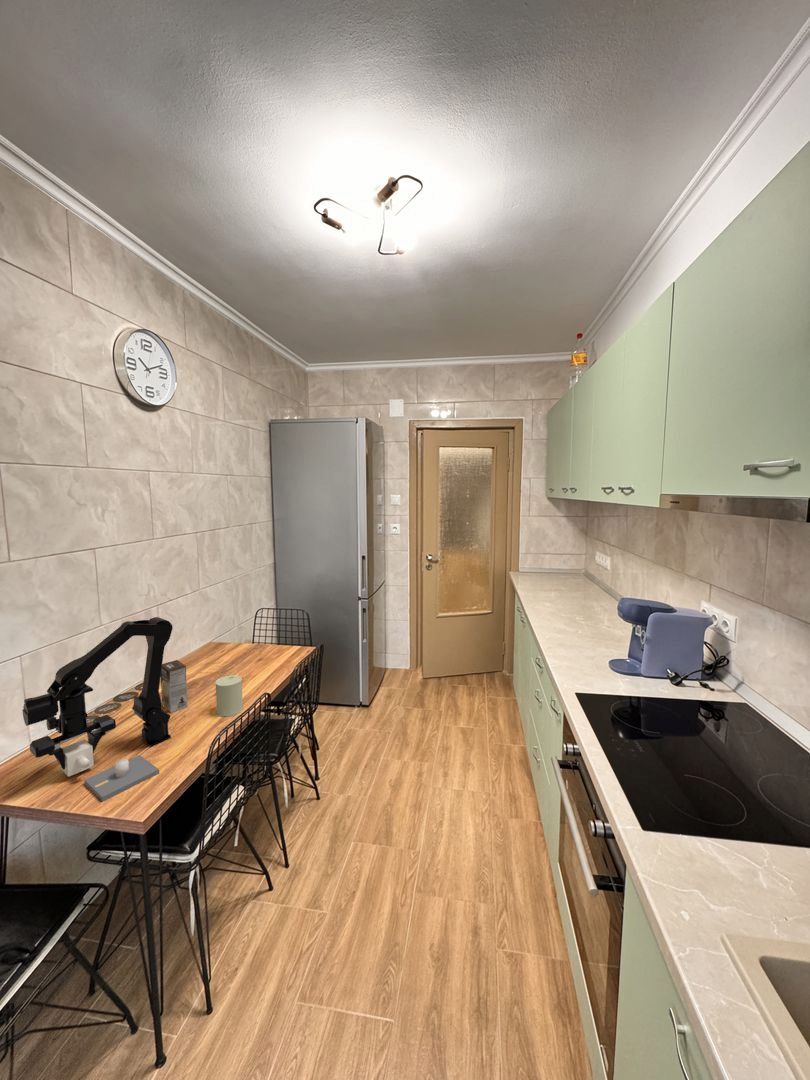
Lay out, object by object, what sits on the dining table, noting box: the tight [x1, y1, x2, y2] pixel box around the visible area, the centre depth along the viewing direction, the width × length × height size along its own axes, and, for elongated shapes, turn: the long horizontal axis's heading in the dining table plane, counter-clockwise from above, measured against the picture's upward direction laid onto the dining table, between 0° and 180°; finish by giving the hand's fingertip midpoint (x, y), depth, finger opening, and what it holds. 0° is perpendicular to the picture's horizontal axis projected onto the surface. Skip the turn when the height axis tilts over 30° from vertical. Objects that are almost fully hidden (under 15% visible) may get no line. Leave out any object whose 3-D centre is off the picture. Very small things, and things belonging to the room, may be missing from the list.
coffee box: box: [160, 659, 188, 713], centre depth 161 cm, size 9×6×16 cm
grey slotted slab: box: [83, 754, 160, 802], centre depth 120 cm, size 14×12×5 cm
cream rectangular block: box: [60, 739, 95, 777], centre depth 122 cm, size 6×10×6 cm, turn 55°
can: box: [214, 674, 244, 717], centre depth 158 cm, size 9×9×12 cm
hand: (77, 763), depth 123 cm, fingers closed on cream rectangular block, 6 cm apart
